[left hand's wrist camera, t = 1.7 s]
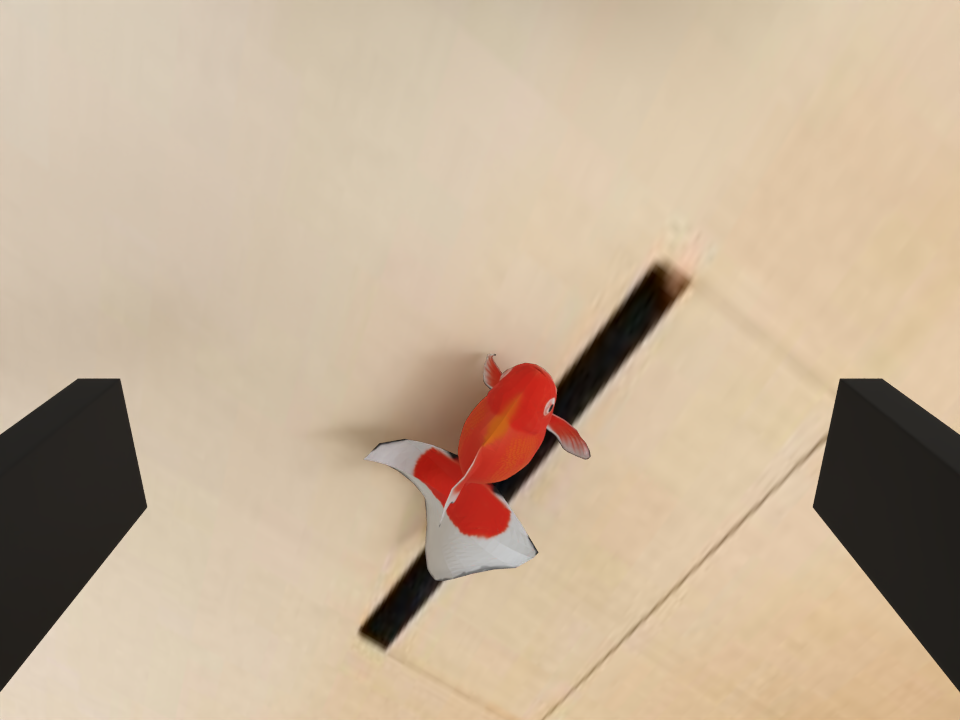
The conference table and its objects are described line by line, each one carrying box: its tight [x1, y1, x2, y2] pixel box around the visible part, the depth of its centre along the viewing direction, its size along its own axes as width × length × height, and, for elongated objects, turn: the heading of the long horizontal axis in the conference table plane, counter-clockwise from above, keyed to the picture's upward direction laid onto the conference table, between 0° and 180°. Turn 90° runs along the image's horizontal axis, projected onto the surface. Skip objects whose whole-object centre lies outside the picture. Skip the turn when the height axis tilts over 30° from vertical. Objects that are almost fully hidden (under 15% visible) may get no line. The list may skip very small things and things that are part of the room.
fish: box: [364, 354, 591, 581], centre depth 38 cm, size 11×16×10 cm
